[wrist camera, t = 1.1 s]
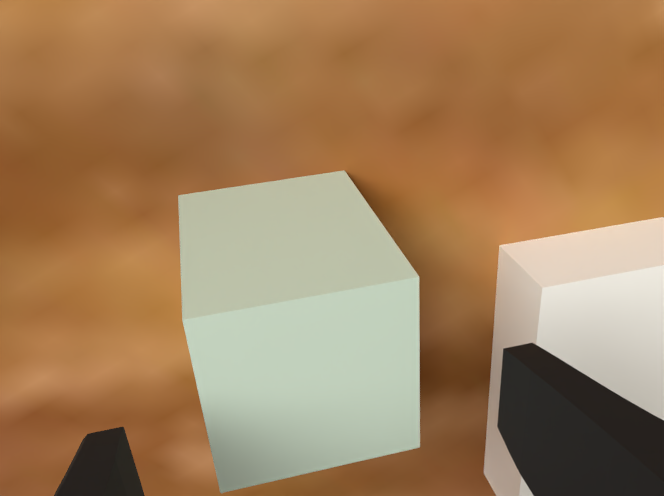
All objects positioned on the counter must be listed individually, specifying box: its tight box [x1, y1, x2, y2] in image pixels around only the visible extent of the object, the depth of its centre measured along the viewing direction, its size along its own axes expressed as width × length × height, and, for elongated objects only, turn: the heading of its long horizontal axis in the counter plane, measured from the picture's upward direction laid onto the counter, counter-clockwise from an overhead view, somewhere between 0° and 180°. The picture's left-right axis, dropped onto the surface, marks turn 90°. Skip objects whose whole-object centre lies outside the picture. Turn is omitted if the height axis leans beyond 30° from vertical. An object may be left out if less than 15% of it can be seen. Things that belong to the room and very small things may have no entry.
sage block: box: [178, 171, 420, 493], centre depth 15 cm, size 4×4×6 cm
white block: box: [484, 217, 664, 496], centre depth 22 cm, size 10×10×3 cm
